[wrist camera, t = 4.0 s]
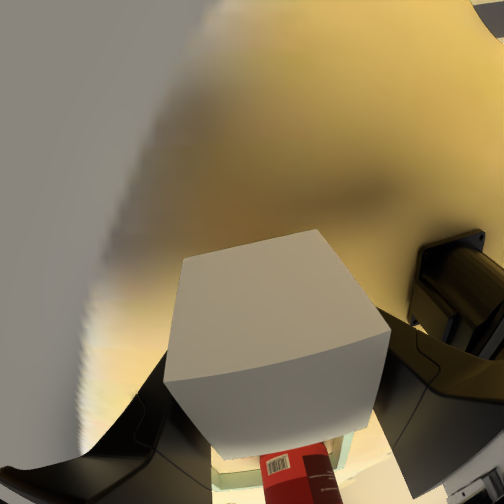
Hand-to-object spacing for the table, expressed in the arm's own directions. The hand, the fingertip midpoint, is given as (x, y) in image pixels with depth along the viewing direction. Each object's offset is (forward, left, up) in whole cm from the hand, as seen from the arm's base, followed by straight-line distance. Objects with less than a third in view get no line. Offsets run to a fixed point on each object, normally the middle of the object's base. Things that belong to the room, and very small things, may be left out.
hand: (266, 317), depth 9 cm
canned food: (0, +27, -6) cm, 27 cm away
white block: (0, 0, -1) cm, 1 cm away
